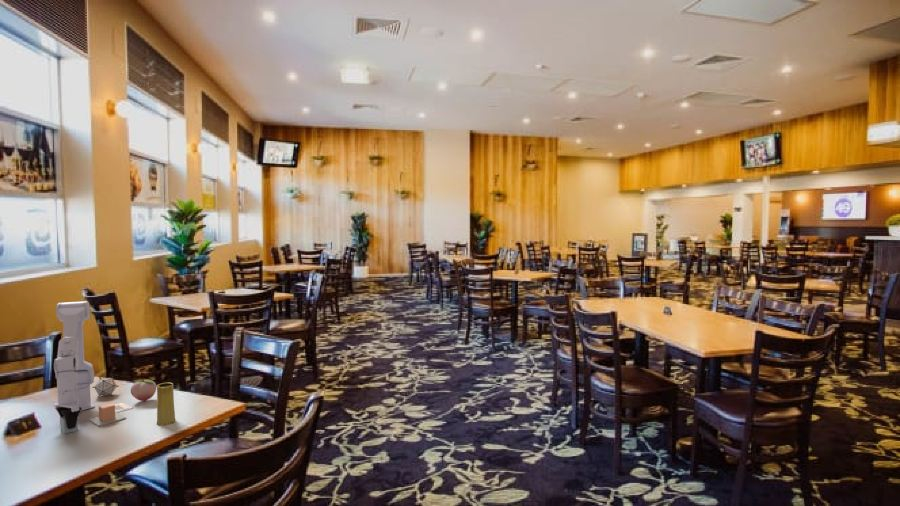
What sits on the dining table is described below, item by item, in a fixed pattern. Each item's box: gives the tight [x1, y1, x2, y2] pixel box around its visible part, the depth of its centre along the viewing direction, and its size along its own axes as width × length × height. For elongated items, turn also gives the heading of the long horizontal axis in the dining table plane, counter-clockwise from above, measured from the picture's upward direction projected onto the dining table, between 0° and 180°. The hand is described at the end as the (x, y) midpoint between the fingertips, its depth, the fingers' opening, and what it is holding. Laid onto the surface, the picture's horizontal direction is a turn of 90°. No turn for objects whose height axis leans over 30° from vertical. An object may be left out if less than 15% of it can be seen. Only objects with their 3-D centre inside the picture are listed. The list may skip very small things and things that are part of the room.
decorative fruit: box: [130, 377, 157, 402], centre depth 207 cm, size 9×8×10 cm
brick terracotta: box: [98, 402, 115, 421], centre depth 188 cm, size 4×4×5 cm
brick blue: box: [59, 416, 79, 434], centre depth 178 cm, size 4×4×5 cm
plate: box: [89, 412, 127, 427], centre depth 188 cm, size 9×9×1 cm
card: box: [113, 402, 133, 413], centre depth 199 cm, size 10×7×1 cm
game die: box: [91, 375, 119, 398], centre depth 213 cm, size 9×8×10 cm
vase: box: [156, 382, 176, 426], centre depth 185 cm, size 6×6×14 cm
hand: (69, 426), depth 178 cm, fingers closed on brick blue, 4 cm apart
